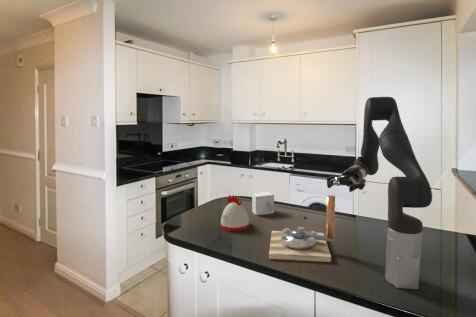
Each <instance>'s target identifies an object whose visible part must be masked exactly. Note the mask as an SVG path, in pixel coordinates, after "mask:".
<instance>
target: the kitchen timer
mask: <svg viewBox="0 0 476 317" xmlns="http://www.w3.org/2000/svg"><path fill="white" fill-rule="evenodd" d="M226 201H227V203H228V204H227V205H226V206H225V207H224V209H223V212H222V215H221V218H220V228H221V229H222V230H224V231H229V232H239V231H245V230H247V229H248V228H250V225H251V224H250V223H251V222H250V218H249V214H248V211H247V210H246V208H245V206H243V205H242V203H243V200H241V201H240V197H239V198H238V197H237V195H234V194H233V195H232V196H231V194H229V195H228V196H227V197H226Z"/></svg>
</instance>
